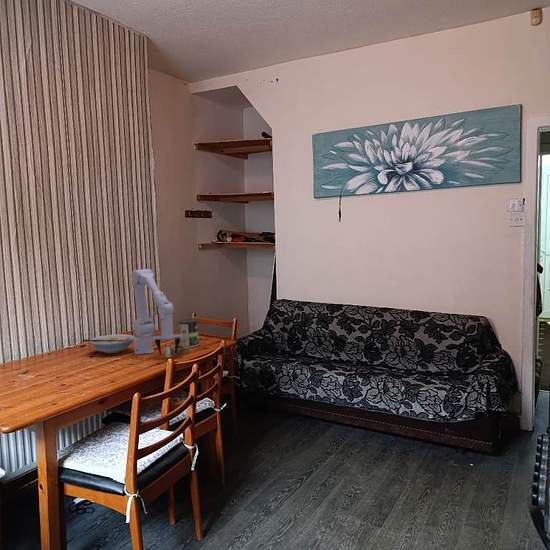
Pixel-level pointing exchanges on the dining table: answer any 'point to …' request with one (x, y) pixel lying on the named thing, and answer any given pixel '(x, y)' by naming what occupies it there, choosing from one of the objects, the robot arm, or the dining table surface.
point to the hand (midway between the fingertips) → (168, 353)
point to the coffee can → (189, 332)
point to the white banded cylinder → (168, 350)
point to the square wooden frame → (179, 349)
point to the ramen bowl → (111, 343)
